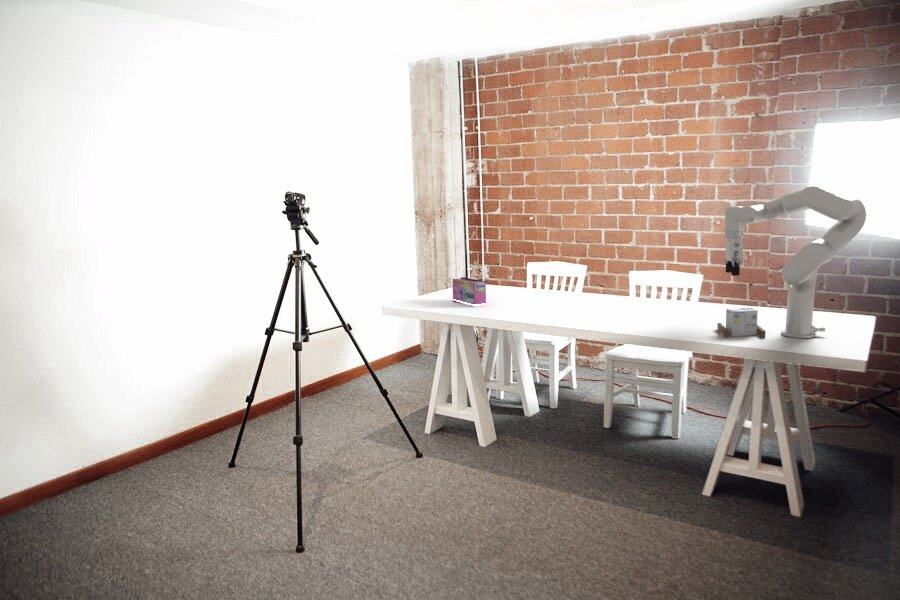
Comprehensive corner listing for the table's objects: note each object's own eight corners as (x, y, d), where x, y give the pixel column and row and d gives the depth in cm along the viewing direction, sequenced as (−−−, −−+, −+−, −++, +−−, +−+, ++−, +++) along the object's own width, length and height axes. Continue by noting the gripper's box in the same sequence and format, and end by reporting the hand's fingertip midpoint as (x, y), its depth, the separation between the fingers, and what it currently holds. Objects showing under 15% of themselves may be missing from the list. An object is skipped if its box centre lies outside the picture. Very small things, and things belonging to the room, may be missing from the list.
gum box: (451, 301, 368) (450, 278, 366) (462, 299, 372) (461, 276, 370) (475, 307, 348) (474, 282, 346) (486, 305, 352) (486, 281, 350)
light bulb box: (749, 331, 273) (750, 307, 271) (757, 335, 267) (758, 310, 265) (724, 332, 273) (725, 308, 271) (731, 336, 266) (733, 311, 264)
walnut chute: (755, 329, 276) (755, 323, 275) (765, 338, 262) (765, 331, 261) (717, 329, 279) (717, 322, 278) (725, 337, 265) (725, 330, 264)
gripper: (748, 236, 269) (747, 276, 272) (737, 233, 285) (736, 271, 288) (729, 236, 270) (728, 276, 273) (719, 233, 287) (718, 271, 290)
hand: (732, 273), depth 281 cm, fingers open, 9 cm apart
